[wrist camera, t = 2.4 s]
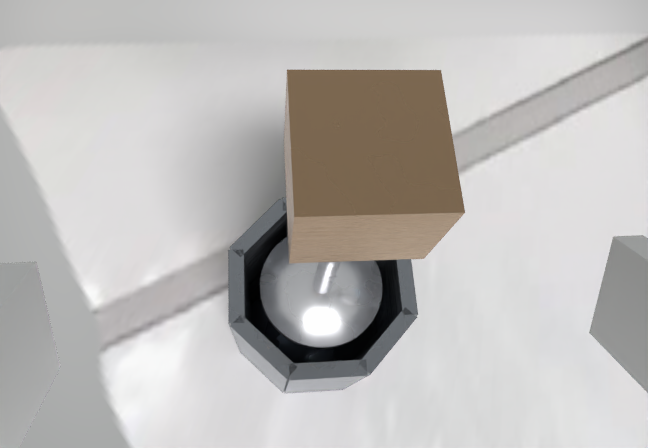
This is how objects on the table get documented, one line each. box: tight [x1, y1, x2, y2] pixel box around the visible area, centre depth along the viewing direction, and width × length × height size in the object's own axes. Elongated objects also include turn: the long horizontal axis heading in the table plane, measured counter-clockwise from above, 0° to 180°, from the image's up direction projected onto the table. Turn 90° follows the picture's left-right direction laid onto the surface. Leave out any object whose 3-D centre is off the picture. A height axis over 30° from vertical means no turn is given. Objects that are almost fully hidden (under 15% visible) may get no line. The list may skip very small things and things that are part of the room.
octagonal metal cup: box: [229, 198, 418, 393], centre depth 33 cm, size 10×10×10 cm
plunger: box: [260, 70, 465, 349], centre depth 22 cm, size 7×7×16 cm
